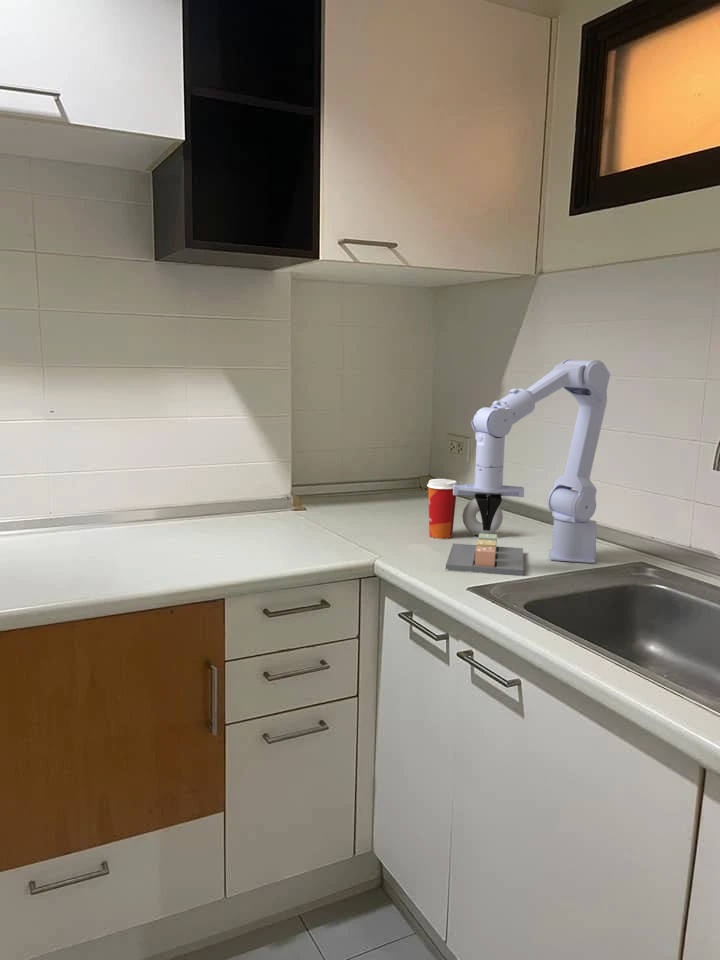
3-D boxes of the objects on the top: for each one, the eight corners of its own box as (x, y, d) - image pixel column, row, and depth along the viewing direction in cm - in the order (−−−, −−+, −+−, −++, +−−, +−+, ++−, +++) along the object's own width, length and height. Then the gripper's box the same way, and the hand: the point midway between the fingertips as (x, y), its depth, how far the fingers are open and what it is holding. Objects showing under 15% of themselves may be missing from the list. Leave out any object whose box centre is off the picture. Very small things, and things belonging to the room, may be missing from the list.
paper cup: (438, 531, 192) (439, 477, 189) (462, 536, 186) (464, 481, 184) (418, 536, 186) (420, 480, 184) (443, 541, 181) (445, 484, 178)
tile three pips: (494, 562, 160) (495, 547, 159) (494, 567, 156) (494, 551, 156) (475, 560, 161) (476, 545, 160) (474, 565, 157) (475, 550, 156)
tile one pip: (496, 547, 172) (497, 533, 171) (495, 552, 168) (496, 538, 167) (478, 546, 172) (479, 532, 172) (477, 551, 169) (478, 536, 168)
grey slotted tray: (522, 553, 172) (523, 548, 171) (523, 575, 154) (523, 570, 154) (452, 548, 175) (453, 543, 175) (445, 570, 157) (445, 564, 157)
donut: (461, 536, 186) (463, 497, 184) (461, 533, 189) (462, 494, 188) (502, 538, 185) (504, 499, 183) (501, 535, 188) (503, 496, 187)
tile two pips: (495, 554, 166) (496, 540, 165) (495, 559, 162) (495, 544, 161) (477, 553, 167) (478, 539, 166) (476, 558, 163) (477, 543, 162)
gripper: (522, 463, 158) (518, 526, 161) (453, 461, 159) (450, 523, 162) (527, 468, 151) (523, 534, 154) (455, 466, 152) (452, 531, 155)
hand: (486, 529), depth 157 cm, fingers closed
